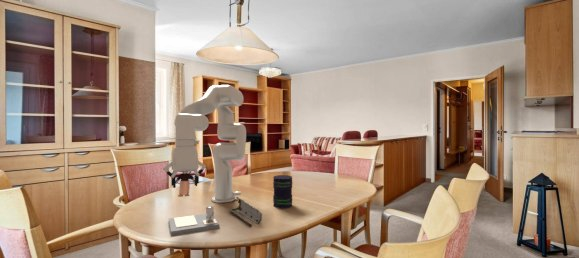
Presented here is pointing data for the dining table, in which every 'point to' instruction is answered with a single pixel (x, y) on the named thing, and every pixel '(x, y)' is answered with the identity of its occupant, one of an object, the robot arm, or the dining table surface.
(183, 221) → the board
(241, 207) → the model building
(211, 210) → the pin
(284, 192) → the storage jar
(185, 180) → the grandmother figurine
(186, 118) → the robot arm
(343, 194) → the dining table surface
